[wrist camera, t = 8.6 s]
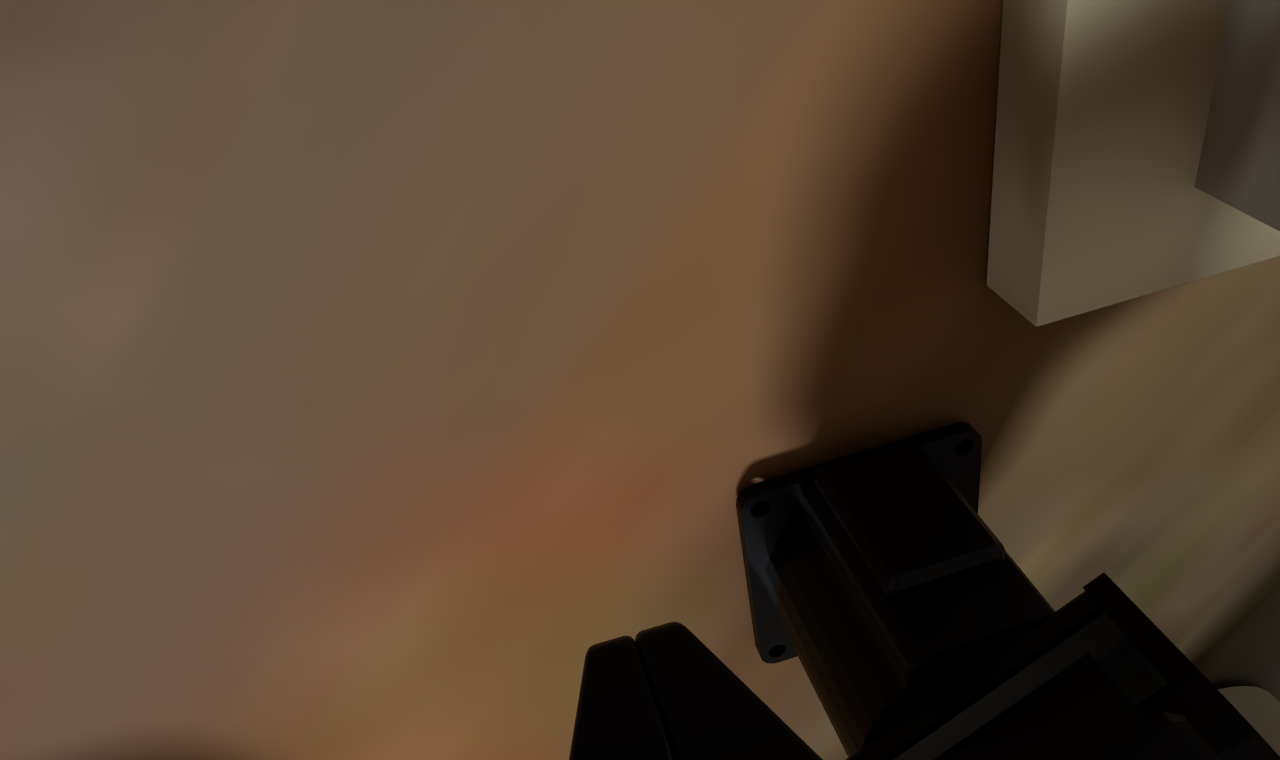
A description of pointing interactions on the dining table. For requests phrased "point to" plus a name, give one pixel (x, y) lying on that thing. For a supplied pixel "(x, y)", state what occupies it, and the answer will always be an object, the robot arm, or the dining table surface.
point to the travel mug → (1257, 711)
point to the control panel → (1132, 149)
